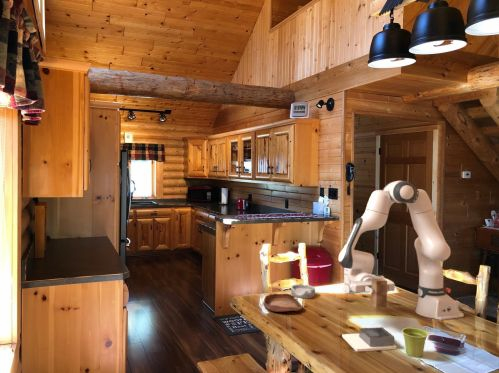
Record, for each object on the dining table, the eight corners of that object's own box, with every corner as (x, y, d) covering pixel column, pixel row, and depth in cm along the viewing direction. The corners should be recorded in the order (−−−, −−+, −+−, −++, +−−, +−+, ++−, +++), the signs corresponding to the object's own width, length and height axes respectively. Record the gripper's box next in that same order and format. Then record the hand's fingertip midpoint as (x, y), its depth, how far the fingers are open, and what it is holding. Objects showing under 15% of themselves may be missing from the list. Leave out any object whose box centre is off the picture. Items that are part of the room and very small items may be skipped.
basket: (310, 313, 206) (310, 303, 206) (274, 318, 199) (274, 308, 198) (290, 300, 227) (290, 291, 227) (257, 304, 220) (257, 295, 219)
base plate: (379, 334, 178) (379, 332, 178) (396, 349, 163) (396, 346, 163) (342, 336, 175) (342, 334, 175) (356, 351, 161) (356, 349, 160)
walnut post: (381, 303, 186) (381, 277, 186) (386, 307, 181) (387, 280, 181) (371, 304, 186) (371, 278, 185) (376, 307, 181) (376, 281, 180)
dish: (314, 299, 228) (314, 291, 228) (289, 298, 230) (289, 289, 230) (315, 292, 242) (315, 284, 242) (292, 291, 245) (292, 283, 244)
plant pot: (420, 348, 163) (421, 327, 163) (432, 359, 154) (432, 336, 154) (397, 349, 163) (398, 327, 163) (407, 359, 154) (408, 337, 153)
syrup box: (348, 293, 239) (348, 269, 239) (343, 291, 245) (344, 267, 244) (357, 293, 241) (357, 268, 240) (352, 290, 246) (352, 266, 246)
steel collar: (381, 335, 175) (382, 327, 174) (394, 345, 164) (394, 336, 164) (359, 336, 173) (359, 328, 173) (370, 346, 163) (370, 338, 163)
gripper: (346, 277, 194) (358, 284, 181) (386, 275, 198) (400, 283, 184) (346, 290, 195) (358, 298, 181) (385, 288, 198) (400, 296, 184)
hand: (380, 291), depth 182 cm, fingers closed on walnut post, 5 cm apart
